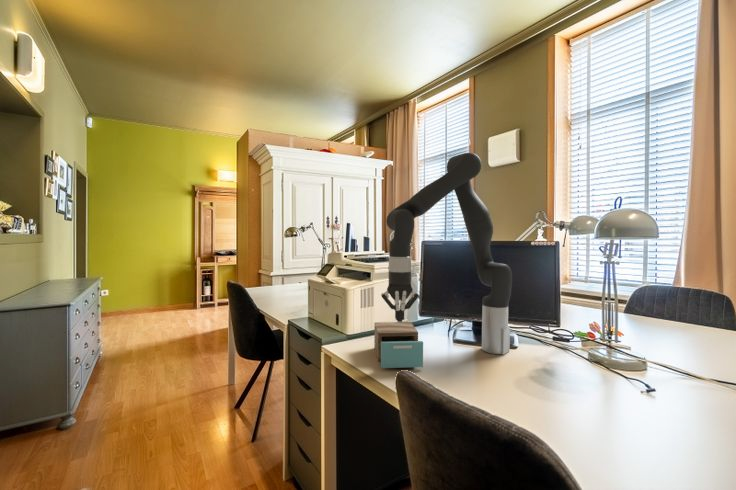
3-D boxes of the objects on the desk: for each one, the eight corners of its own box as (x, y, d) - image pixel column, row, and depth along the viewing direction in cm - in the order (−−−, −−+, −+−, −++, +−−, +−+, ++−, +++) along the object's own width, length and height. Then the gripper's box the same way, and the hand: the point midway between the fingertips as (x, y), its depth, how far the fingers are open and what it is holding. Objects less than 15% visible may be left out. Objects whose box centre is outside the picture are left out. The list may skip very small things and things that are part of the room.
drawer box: (417, 360, 125) (418, 332, 125) (378, 361, 124) (378, 333, 124) (410, 347, 139) (410, 321, 139) (374, 348, 138) (374, 322, 138)
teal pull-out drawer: (423, 367, 116) (423, 342, 116) (381, 368, 115) (381, 343, 115) (414, 352, 130) (414, 330, 129) (377, 353, 129) (377, 331, 129)
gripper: (381, 271, 115) (381, 324, 116) (421, 271, 116) (421, 324, 117) (378, 268, 123) (378, 318, 124) (417, 268, 124) (416, 318, 124)
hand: (399, 321), depth 120 cm, fingers closed
